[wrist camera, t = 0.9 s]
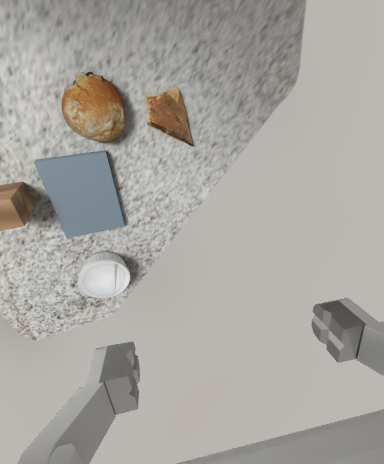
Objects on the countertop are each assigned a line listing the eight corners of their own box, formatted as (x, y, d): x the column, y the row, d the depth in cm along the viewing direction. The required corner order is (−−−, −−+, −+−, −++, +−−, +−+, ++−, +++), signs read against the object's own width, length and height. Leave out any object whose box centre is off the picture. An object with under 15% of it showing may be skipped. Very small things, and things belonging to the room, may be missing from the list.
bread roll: (65, 120, 43) (61, 147, 39) (61, 58, 36) (55, 83, 32) (121, 131, 47) (122, 157, 43) (128, 77, 40) (131, 102, 35)
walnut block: (-9, 186, 42) (-28, 205, 35) (23, 181, 43) (10, 198, 37) (5, 211, 45) (-10, 232, 38) (34, 206, 46) (24, 226, 39)
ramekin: (136, 269, 62) (139, 283, 57) (98, 290, 61) (98, 305, 57) (111, 239, 55) (113, 252, 51) (69, 263, 54) (66, 278, 50)
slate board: (36, 159, 42) (34, 162, 41) (105, 150, 45) (105, 152, 44) (67, 234, 51) (66, 237, 50) (123, 222, 54) (124, 225, 52)
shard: (191, 144, 50) (193, 146, 49) (157, 156, 49) (159, 158, 48) (177, 86, 44) (180, 86, 42) (138, 98, 43) (139, 99, 41)
